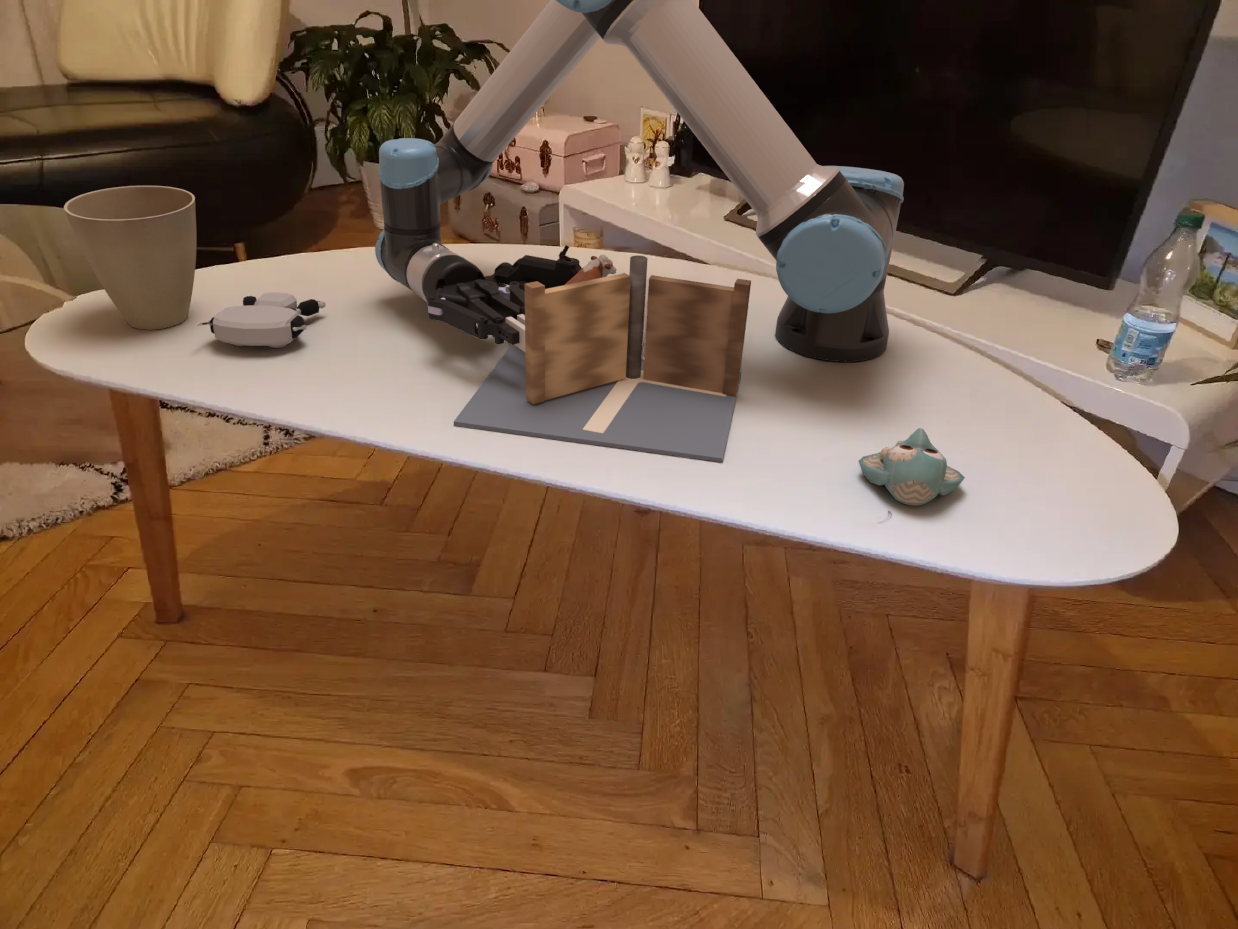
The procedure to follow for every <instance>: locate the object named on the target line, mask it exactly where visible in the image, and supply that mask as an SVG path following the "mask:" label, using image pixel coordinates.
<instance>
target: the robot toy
mask: <svg viewBox="0 0 1238 929" xmlns="http://www.w3.org/2000/svg"><path fill="white" fill-rule="evenodd" d="M256 297H257V296H252V295H249V296H248V295H247V296H245V297H243V298H242V299H243V300H242V305H234V306H229V307H226V308H223V309H222V310H221V311H219V312H218V313H216V314H215V315H214V316H213V317H211V318H210V320H208V321H204V322H199V321H198V322H197V323H196V326H197V327H201V326H206V325H208V326H209V328H210V331H211V332H210V333H211V334H213V335H214V337H215V338H216V339H217V340H219V341H220V342H222V343H225V344H232V345H233V346H236V347H245V346H249V347H250V346H251V347H253V346H255V347H256V346H258V347H260V346H263V347H265V346H268V347H270V348H273V349H278V348H279V349H280V348H284V347H285V346H287V345H289V344H290V343H291V342H293V341H294V339H297V338H298V337H299V336H300V335H301V334H302V333H303V332H304V331H305V330H307V329H308V328H307V326H308V325H307V324H305V320H304V316H305V317H311V316H313V315H315V314H318V313H319V312H320V309H323V308H325V307H326V306H327V304H326V302H325V301H321V300H319V299H318V300H316V299H313V298H311V299H307V300H303V301H301V302H299V304H298V302H297V301H298V300H297V298H296V297H295V295H294V294H291V293H287V292H266V293H262V294H261V295H260V296H259V298H256ZM302 316H303V317H302Z"/></svg>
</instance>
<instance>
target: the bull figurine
mask: <svg viewBox="0 0 1238 929" xmlns="http://www.w3.org/2000/svg"><path fill="white" fill-rule="evenodd" d="M616 273H617V267H615V266H614V263H613V260H611V258H609V257H608V256H607V255H605V254H600V255H599V256H598V257H597V256H595V255H591V256H590V261H589V262H588V263H586V265H585V266H584V267H582V269H581V270H580V271H579V272H578V273H577V274H576V275H575V276H574V277H573V278H572V279H571V280H569V281H568V282H567V283H566V284H565V285H568V284H573V283H578V282H583V281H588V280H593V279H598V278H603V277H608V276H609V275H616Z"/></svg>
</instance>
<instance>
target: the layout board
mask: <svg viewBox="0 0 1238 929" xmlns="http://www.w3.org/2000/svg"><path fill="white" fill-rule="evenodd" d="M643 370H644V359H642V363H641V377H640V378H637V379H630V378H627V377H626V378H625V379H621V380H618V381H614V382H610V383H607V384H603V385H599V386H596V387H592V388H588V389H585V390H581V391H577V392H574V393H570V394H566V395H563V396H559V397H555V398H551V399H548V400H545V401H544V402H540V403H537V404H532V403H530V402H529V401H528V400H527V399H526V361H525V352H524V351H523V350H521V349H520V348H518V347H517V346H515V345H514V344H513V345H512V344H510V346H509V348H508V349H507V350H506V352H504V354H503V356H502V357H501V358H500V359H499V360H498V362H497V364H496V365H495V366H494V368H493V369H492V370H491V372H490V373H489V374H488V375H487V377H486V378H485V379H484V380H483V382H482V383H481V385H480V386H479V387H478V389H477V390H476V391H475V392H474V394H473V395H472V397H471V398H470V399H469V401H468V402H466V404H465V406H464V407H463V408H462V409H461V411H460V412H459V414H458V415H457V416H456V418H455V419H454V421H453V426H455V427H462V428H468V429H469V428H471V429H476V430H485V431H491V432H497V433H506V434H511V435H513V434H514V435H521V436H526V437H527V436H528V437H534V438H535V437H536V438H542V439H549V440H550V439H551V440H557V441H564V442H570V443H578V444H586V445H593V446H599V447H600V446H601V447H606V446H607V447H608V448H614V449H615V448H616V449H621V448H624V449H623V450H628V449H630V451H635V450H637V451H636V452H643V451H644V452H645V453H650V452H652V454H658V455H664V454H667V455H666V456H672V455H675V456H674V457H679V456H681V458H686V457H689V458H688V459H693V458H694V459H695V460H701V461H708V460H710V462H715V461H716V462H717V463H723V462H722V461H724V456H725V452H726V447H727V443H728V437H729V432H730V429H731V423H732V418H733V416H734V415H733V414H734V411H735V405H736V400H737V396H738V394H737V395H736V397H733V396H727V395H725V394H722V393H718V392H712V391H706V390H700V389H695V388H689V387H683V386H678V385H672V384H666V383H660V382H655V381H649V380H644V379H643ZM741 376H742V371H740V378H741ZM740 381H741V379H740V380H739V383H740ZM644 452H643V453H644Z"/></svg>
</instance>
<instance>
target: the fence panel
mask: <svg viewBox="0 0 1238 929" xmlns="http://www.w3.org/2000/svg"><path fill="white" fill-rule="evenodd" d="M630 279H631V276H629V274H628V273H625V272H623V273H618V274H612V275H610V276H609V275H607V276H606V277H603V278H598V279H593V280H588V281H583V282H578V283H573V284H568V285H563V286H558V287H553V288H548V289H545V286H544V285H543V284H541V283H539V282H538V281H536V282H531V283H526V284H525V361H526V399H527V400H528V401H529V402H530V403H532V404H537V403H540V402H544V401H545V400H548V399H551V398H555V397H559V396H563V395H566V394H570V393H574V392H577V391H581V390H585V389H588V388H592V387H596V386H599V385H603V384H607V383H610V382H614V381H618V380H621V379H625V378H626V361H627V341H628V320H629V300H630Z"/></svg>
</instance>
